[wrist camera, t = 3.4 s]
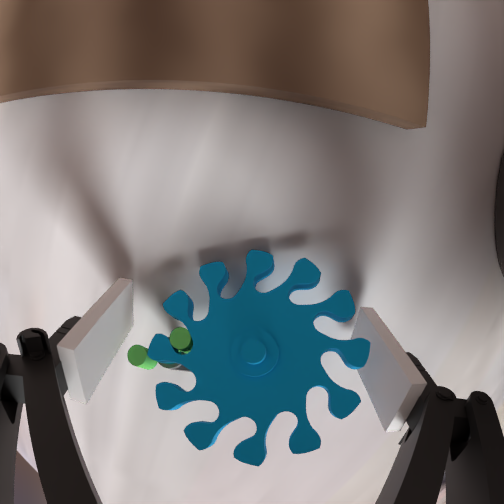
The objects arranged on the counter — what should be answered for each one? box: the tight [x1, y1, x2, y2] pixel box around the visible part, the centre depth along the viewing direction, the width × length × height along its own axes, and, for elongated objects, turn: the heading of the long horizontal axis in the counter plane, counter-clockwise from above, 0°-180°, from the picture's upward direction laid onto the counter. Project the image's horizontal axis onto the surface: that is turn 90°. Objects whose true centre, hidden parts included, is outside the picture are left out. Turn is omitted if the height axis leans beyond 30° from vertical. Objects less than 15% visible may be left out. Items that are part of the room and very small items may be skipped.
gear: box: [128, 250, 371, 466], centre depth 15 cm, size 11×6×10 cm
